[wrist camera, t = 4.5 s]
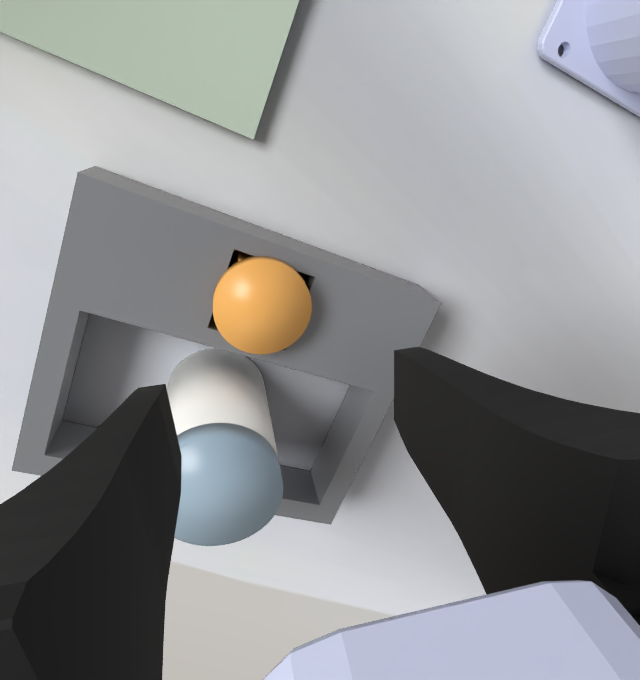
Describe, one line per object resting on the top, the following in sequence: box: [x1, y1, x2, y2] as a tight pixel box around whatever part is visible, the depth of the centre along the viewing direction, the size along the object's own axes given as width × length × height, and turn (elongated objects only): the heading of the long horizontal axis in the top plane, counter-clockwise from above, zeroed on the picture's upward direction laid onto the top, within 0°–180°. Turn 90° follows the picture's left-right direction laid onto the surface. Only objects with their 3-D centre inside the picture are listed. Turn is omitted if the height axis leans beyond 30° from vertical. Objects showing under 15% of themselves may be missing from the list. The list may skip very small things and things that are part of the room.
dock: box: [12, 166, 441, 524], centre depth 21 cm, size 14×12×2 cm
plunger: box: [213, 250, 312, 354], centre depth 19 cm, size 4×4×3 cm
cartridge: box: [167, 348, 283, 546], centre depth 19 cm, size 4×4×7 cm
